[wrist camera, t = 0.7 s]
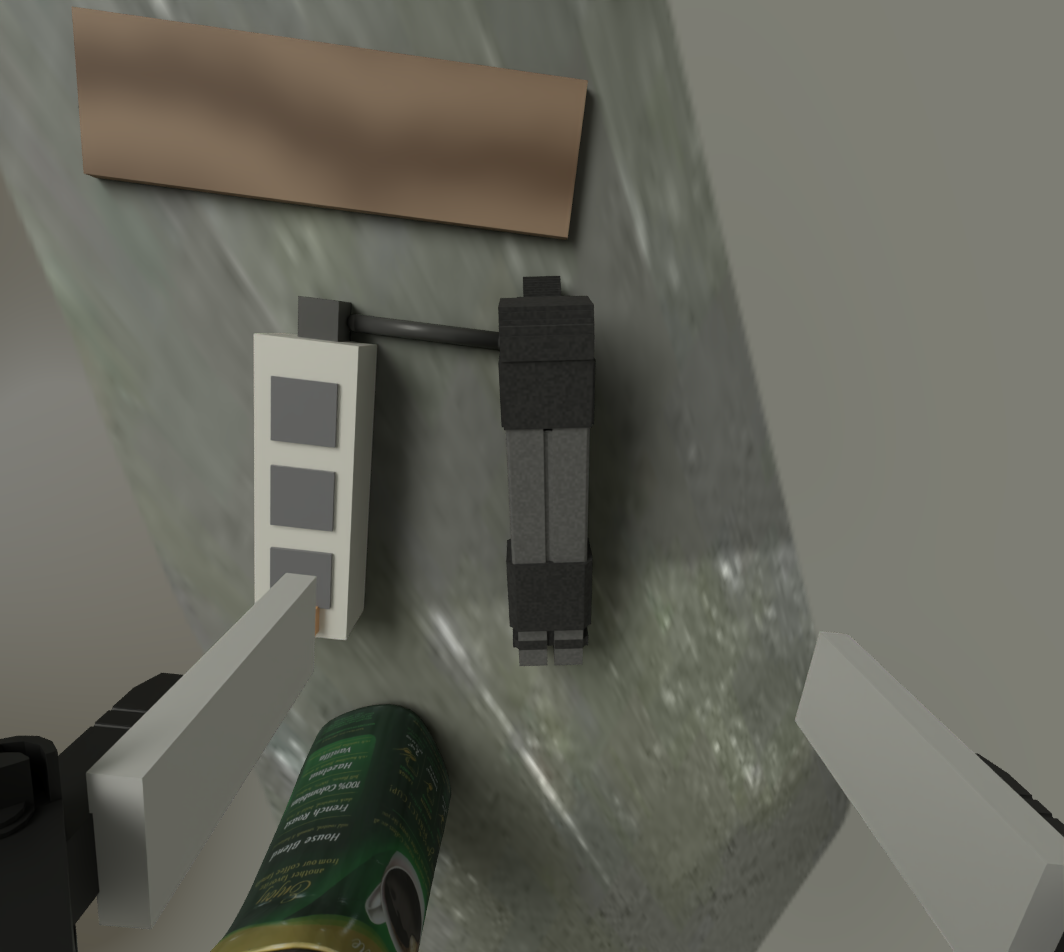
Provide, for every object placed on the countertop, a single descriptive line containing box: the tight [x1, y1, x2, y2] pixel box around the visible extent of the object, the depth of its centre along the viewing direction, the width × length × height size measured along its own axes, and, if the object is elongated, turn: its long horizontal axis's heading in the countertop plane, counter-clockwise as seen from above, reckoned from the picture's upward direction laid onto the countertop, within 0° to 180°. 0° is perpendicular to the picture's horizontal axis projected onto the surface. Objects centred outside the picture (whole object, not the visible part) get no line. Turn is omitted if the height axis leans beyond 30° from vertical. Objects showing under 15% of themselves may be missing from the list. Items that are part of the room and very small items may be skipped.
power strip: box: [254, 296, 500, 640], centre depth 30 cm, size 18×12×4 cm, turn 173°
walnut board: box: [72, 7, 588, 240], centre depth 27 cm, size 7×24×1 cm, turn 83°
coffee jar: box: [210, 704, 451, 952], centre depth 28 cm, size 10×8×19 cm
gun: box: [498, 276, 595, 666], centre depth 31 cm, size 4×20×10 cm, turn 2°
